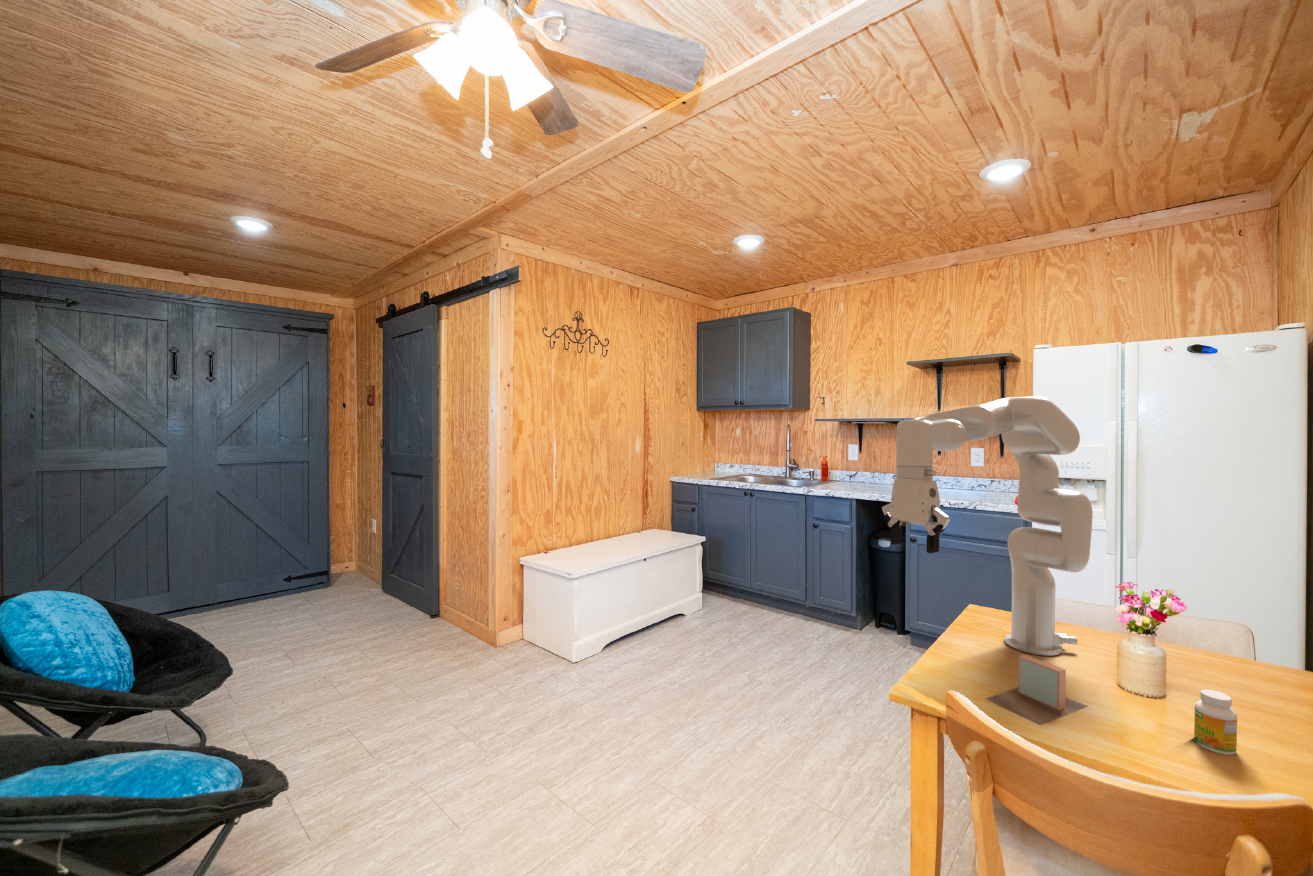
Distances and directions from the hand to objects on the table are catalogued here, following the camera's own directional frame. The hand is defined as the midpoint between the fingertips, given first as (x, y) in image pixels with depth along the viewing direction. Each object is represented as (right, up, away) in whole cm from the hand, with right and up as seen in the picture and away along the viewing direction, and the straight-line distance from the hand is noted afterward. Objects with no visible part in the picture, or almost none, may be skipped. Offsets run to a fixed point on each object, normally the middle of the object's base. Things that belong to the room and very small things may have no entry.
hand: (913, 547), depth 122 cm
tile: (+22, -30, -10) cm, 39 cm away
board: (+20, -31, -11) cm, 39 cm away
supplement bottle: (+43, -32, -25) cm, 59 cm away
